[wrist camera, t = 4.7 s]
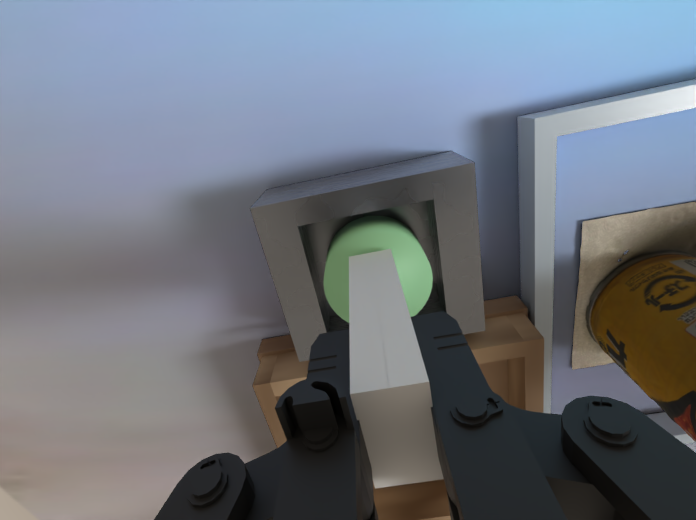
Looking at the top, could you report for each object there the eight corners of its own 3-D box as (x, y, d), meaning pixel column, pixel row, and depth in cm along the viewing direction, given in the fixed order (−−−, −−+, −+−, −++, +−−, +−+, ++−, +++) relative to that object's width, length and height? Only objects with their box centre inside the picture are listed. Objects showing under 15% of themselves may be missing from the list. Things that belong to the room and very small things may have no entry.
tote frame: (860, 43, 14) (917, 37, 12) (747, 410, 21) (775, 431, 20) (517, 116, 15) (534, 118, 13) (523, 441, 22) (535, 464, 21)
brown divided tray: (516, 295, 18) (549, 333, 15) (523, 570, 27) (544, 626, 25) (262, 339, 19) (246, 383, 16) (353, 589, 29) (353, 645, 26)
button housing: (451, 150, 15) (474, 162, 13) (464, 295, 18) (485, 330, 15) (266, 189, 16) (249, 208, 13) (306, 323, 19) (299, 361, 16)
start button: (416, 206, 14) (426, 222, 12) (427, 294, 16) (438, 319, 14) (316, 226, 15) (311, 244, 13) (337, 310, 16) (336, 337, 14)
